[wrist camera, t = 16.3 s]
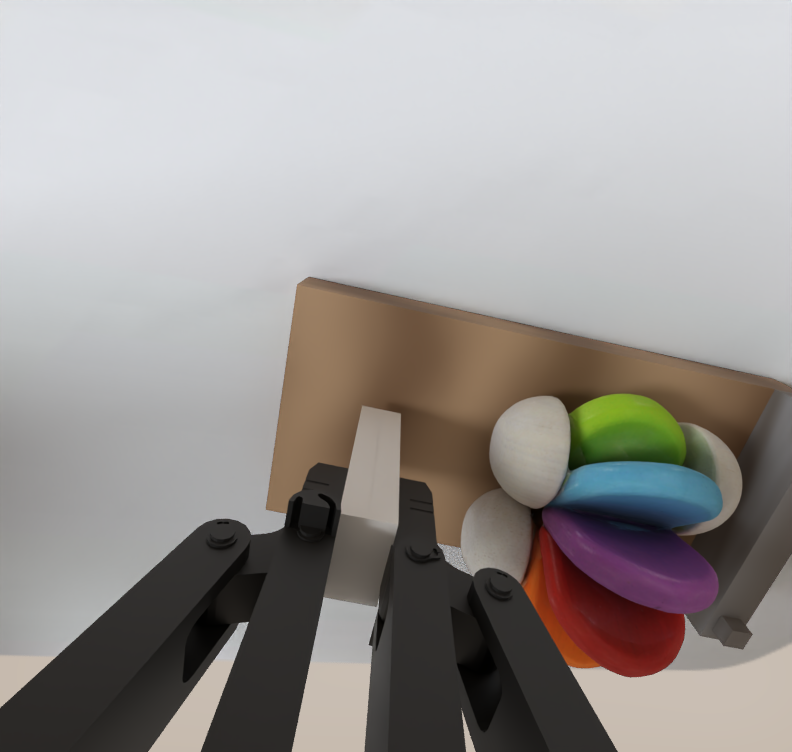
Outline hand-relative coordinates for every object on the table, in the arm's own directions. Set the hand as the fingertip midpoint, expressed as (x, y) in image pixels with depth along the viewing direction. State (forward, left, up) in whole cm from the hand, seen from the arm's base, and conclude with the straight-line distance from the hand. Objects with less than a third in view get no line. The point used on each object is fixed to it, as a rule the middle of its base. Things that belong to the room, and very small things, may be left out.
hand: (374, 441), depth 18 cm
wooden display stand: (+6, 0, -3) cm, 7 cm away
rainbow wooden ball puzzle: (+8, 0, -1) cm, 9 cm away
